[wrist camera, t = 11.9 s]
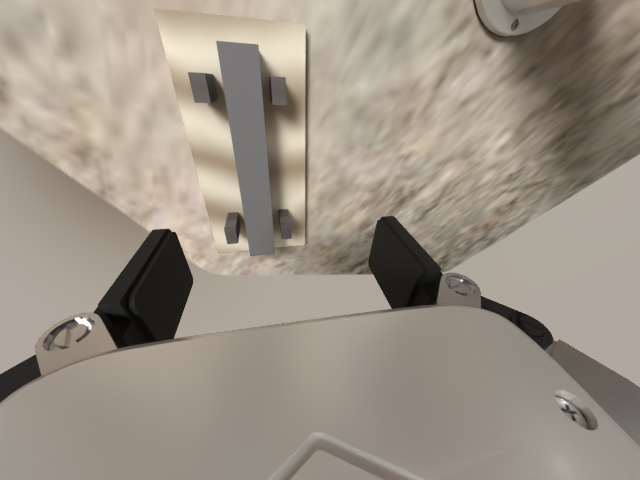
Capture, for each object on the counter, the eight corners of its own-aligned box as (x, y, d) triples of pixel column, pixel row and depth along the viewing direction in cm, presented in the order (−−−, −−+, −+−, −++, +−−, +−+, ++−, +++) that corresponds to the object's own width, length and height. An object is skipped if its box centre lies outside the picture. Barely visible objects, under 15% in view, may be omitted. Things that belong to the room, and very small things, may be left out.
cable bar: (222, 47, 20) (216, 40, 17) (258, 50, 21) (258, 44, 17) (251, 238, 31) (250, 256, 28) (273, 236, 32) (275, 253, 29)
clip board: (159, 12, 19) (130, -8, 15) (303, 26, 21) (314, 12, 17) (219, 247, 32) (213, 272, 28) (303, 240, 35) (309, 261, 31)
